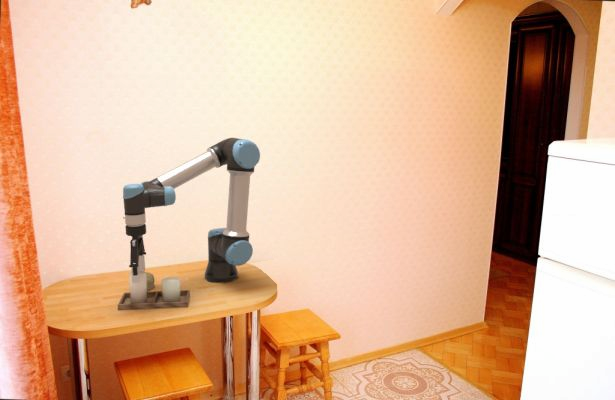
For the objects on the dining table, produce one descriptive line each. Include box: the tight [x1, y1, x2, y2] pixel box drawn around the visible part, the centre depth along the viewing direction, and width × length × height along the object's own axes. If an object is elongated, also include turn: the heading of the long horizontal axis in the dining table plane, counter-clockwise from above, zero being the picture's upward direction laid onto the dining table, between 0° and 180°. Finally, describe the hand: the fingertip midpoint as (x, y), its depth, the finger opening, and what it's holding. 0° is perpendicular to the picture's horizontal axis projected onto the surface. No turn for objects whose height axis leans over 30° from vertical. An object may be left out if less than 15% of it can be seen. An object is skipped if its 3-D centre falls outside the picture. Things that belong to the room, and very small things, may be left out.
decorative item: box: [145, 271, 155, 292], centre depth 223 cm, size 10×10×10 cm
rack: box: [117, 289, 191, 311], centre depth 208 cm, size 26×13×3 cm, turn 99°
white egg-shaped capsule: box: [161, 276, 181, 303], centre depth 208 cm, size 7×7×9 cm
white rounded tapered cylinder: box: [128, 271, 148, 304], centre depth 206 cm, size 6×6×12 cm
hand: (139, 276), depth 205 cm, fingers open, 13 cm apart
